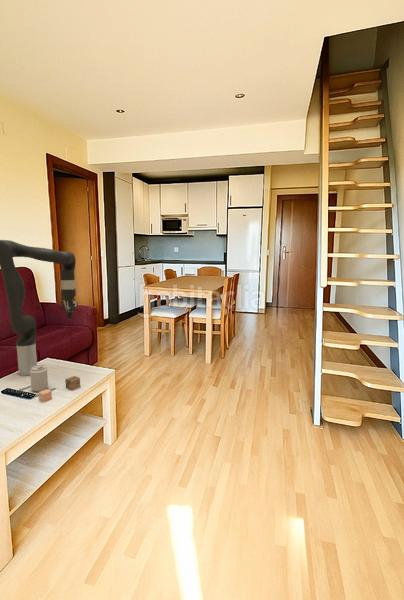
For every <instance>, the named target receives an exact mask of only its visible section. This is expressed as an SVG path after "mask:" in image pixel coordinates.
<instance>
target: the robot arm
mask: <svg viewBox="0 0 404 600" xmlns="http://www.w3.org/2000/svg"><path fill="white" fill-rule="evenodd" d="M20 257H21V258H29V259H33V260H37V261H41V262H46V263H53V264H57V265H62V269H61V270H60V294H61V296H60V297H62V301H60V304H61V306H62V308H63V311H66V317H67V320H68V319H69V320H72V319H73V318H74V317H73V316H74V315H73V312H75V311H76V309H77V307H78V305H79V303H78V302H76V300H75V299H76V298H75V297H77V290H76V289H77V288H76V287H77V286H76V280H75V278H76V277H75V269H76V263H77V262H76V261H77V260H76V256H75V254H74V253H73V252H71V251H60V250H59V251H58V250H55V249H51V248H45V247H36V246H29V245H25V244H22V243H19V242H16V241H13V240H7V239H0V270H1V275H2V279H3V286H4V289H5V293H6V298H7V303H8V309H9V319H10V326H11V330H12V331H13V333H15V334H16V335H19V337H18V338H17V339H16V353H17V367H18V375H19V376H22V377H23V376H24V377H27V376H30V371H31V368H32V367H34V366H37V365H38V359H37V348H36V347H37V346H36V339H37V322H36V319H35V317H34V316H32V315H31V314H30V315H29V314H27V315H26V314H25V315H23V305H24V301H25V298H26V288H25V283H24V280H23V279H24V278H23V277H22V276H21V274H20V272H19V271H18V269H17V268H16V265H15V262H14V258H20Z"/></svg>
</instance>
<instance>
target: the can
mask: <svg viewBox="0 0 404 600" xmlns="http://www.w3.org/2000/svg"><path fill="white" fill-rule="evenodd" d="M29 376H30V385H31V387H30V388H31V391H33V392H35V393H38V392H40V391H43V390H45V389H48V388H49V378H48V369H47V367H46V365H44V364H37V366H34V367H32V368H31V371H30V375H29Z"/></svg>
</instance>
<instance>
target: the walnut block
mask: <svg viewBox="0 0 404 600" xmlns="http://www.w3.org/2000/svg"><path fill="white" fill-rule="evenodd" d="M79 388H81V378H80V377H79V376H76V375H72V376H70V377H67V378H65V389H68V390H70V391H74V390H77V389H79Z"/></svg>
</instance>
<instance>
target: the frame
mask: <svg viewBox="0 0 404 600" xmlns="http://www.w3.org/2000/svg"><path fill="white" fill-rule="evenodd" d="M30 388H31V384H30V385H28V386H25V387H22V388H20V389H19V388H18V390H19V391H23V392H26V391H25V390H28V389H30ZM56 389H57V388H56V387H53V388H50V389H49V390H50V391H51V392H52V391H55V390H56ZM19 391H18V392H19ZM34 395H35V396H34ZM34 395H33V396H34V397H35V398H37V397H39V394H37V393H36V394H34ZM34 397H32V398H31V399H34Z"/></svg>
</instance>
